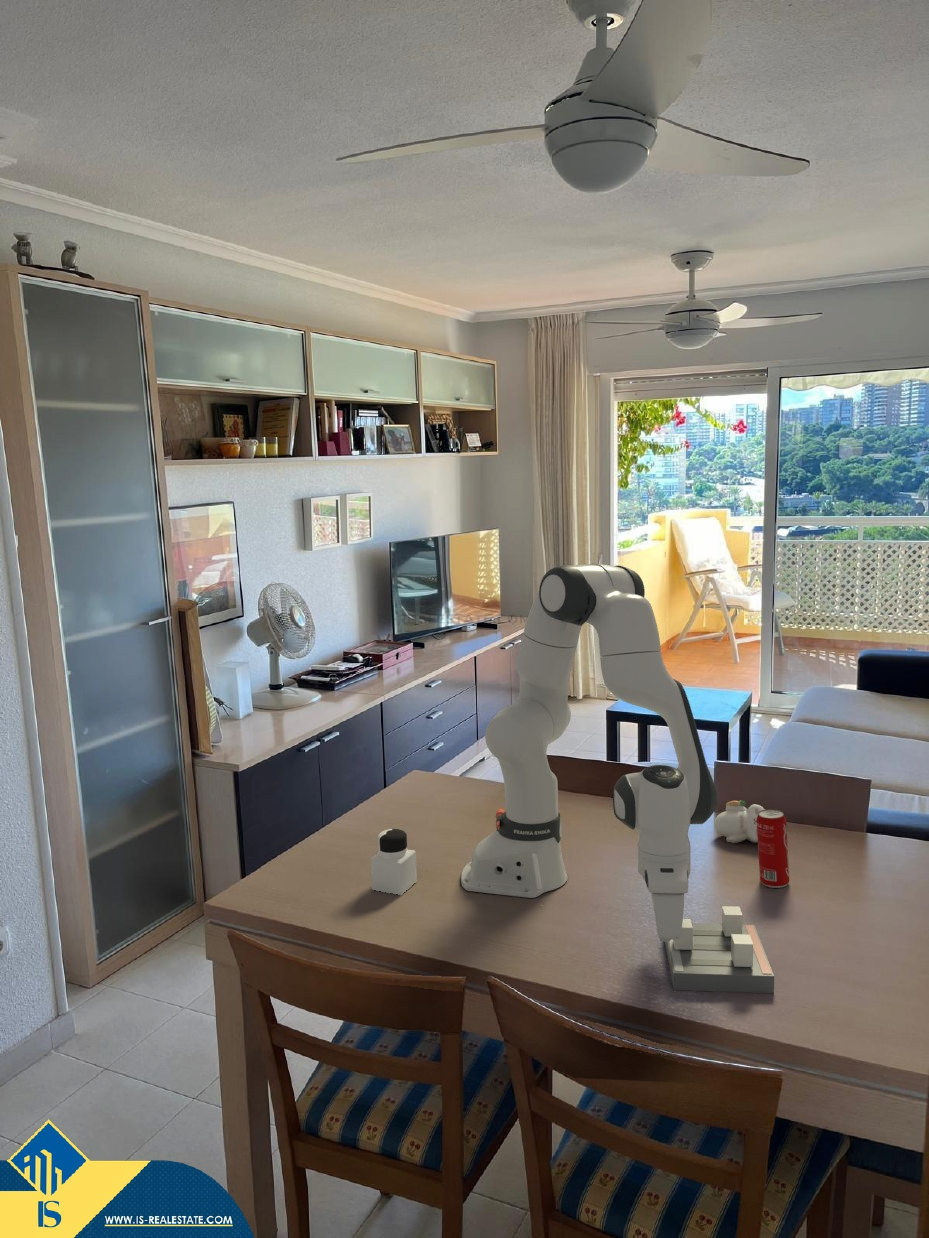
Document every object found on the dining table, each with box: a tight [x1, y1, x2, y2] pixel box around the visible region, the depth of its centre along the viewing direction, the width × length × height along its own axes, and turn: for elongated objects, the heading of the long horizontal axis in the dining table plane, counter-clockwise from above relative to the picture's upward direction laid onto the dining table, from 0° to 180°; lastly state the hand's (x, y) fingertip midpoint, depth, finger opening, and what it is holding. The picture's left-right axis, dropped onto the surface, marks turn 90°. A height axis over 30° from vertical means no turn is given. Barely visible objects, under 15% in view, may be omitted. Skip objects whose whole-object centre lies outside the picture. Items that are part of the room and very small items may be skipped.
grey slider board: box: [664, 922, 775, 994], centre depth 157 cm, size 16×17×3 cm
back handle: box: [721, 905, 743, 936], centre depth 161 cm, size 3×3×4 cm
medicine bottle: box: [370, 828, 418, 896], centre depth 191 cm, size 7×7×12 cm
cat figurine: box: [713, 800, 766, 844], centre depth 209 cm, size 10×8×15 cm
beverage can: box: [756, 808, 790, 889], centre depth 186 cm, size 6×6×15 cm
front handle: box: [731, 934, 753, 967], centre depth 151 cm, size 3×3×4 cm
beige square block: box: [673, 918, 693, 950], centre depth 157 cm, size 3×3×4 cm
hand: (664, 937), depth 158 cm, fingers closed
